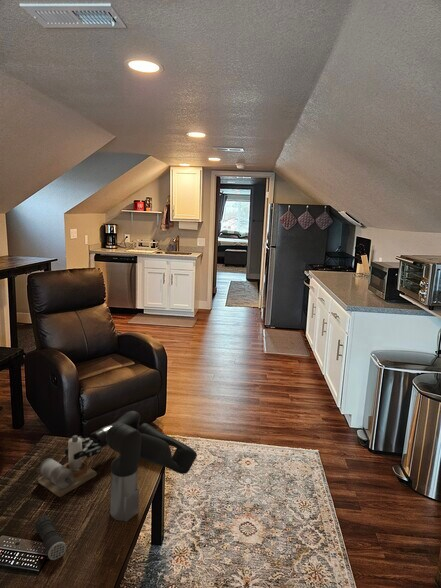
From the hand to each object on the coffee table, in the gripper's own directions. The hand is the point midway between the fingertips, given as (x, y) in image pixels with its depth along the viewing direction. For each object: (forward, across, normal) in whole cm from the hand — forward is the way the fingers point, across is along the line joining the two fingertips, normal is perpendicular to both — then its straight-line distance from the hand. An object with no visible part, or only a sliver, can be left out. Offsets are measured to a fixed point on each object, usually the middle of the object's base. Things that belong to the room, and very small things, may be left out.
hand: (69, 454), depth 163 cm
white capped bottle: (-3, 0, -6) cm, 7 cm away
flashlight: (+24, -24, -10) cm, 35 cm away
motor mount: (+1, 0, -10) cm, 10 cm away
